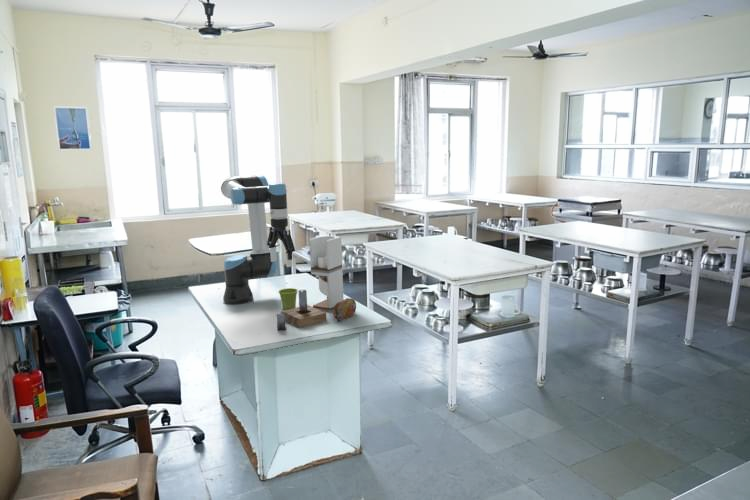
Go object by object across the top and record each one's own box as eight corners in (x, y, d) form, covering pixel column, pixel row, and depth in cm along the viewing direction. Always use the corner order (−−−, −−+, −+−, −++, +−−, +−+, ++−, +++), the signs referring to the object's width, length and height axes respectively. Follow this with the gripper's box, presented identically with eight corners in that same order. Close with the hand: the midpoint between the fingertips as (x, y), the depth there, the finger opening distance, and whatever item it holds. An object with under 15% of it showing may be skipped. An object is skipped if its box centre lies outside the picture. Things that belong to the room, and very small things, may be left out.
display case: (326, 303, 268) (323, 235, 261) (343, 306, 263) (341, 236, 256) (312, 309, 258) (309, 239, 252) (330, 312, 253) (327, 240, 246)
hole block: (282, 319, 244) (281, 311, 244) (307, 312, 253) (307, 304, 252) (300, 328, 232) (299, 319, 231) (326, 320, 241) (326, 312, 240)
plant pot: (294, 310, 257) (293, 293, 255) (276, 310, 259) (275, 293, 257) (301, 305, 266) (300, 288, 264) (283, 304, 268) (282, 288, 266)
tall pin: (298, 320, 243) (296, 290, 240) (305, 318, 245) (303, 289, 242) (302, 322, 240) (301, 292, 238) (309, 320, 242) (307, 290, 240)
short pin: (275, 329, 231) (274, 314, 230) (283, 327, 233) (282, 312, 232) (280, 331, 228) (279, 316, 227) (287, 329, 231) (286, 314, 229)
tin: (338, 323, 238) (337, 305, 236) (332, 321, 240) (331, 304, 238) (356, 313, 250) (356, 296, 249) (351, 312, 252) (350, 295, 250)
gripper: (257, 215, 243) (260, 260, 247) (286, 222, 224) (289, 270, 229) (272, 213, 247) (274, 257, 252) (301, 220, 229) (303, 267, 234)
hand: (281, 264), depth 240 cm, fingers open, 13 cm apart
